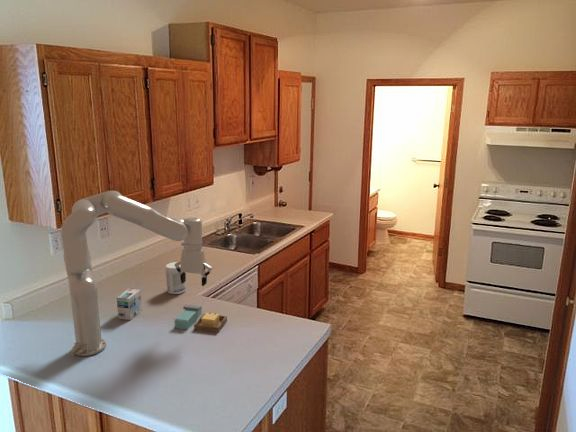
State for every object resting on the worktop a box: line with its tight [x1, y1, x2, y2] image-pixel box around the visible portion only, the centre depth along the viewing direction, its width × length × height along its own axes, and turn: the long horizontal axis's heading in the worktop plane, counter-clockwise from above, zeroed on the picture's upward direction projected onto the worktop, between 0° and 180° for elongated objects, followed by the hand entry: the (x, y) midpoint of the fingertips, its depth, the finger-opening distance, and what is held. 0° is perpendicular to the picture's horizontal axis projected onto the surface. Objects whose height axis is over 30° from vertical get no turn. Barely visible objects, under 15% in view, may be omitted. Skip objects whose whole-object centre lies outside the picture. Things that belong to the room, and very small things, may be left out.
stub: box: [201, 312, 220, 327], centre depth 207 cm, size 6×6×4 cm
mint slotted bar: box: [174, 304, 203, 330], centre depth 211 cm, size 16×8×5 cm, turn 168°
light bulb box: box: [116, 288, 143, 321], centre depth 216 cm, size 11×7×11 cm, turn 168°
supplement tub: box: [165, 261, 187, 295], centre depth 242 cm, size 10×10×15 cm
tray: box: [193, 313, 228, 334], centre depth 207 cm, size 11×11×2 cm
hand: (193, 283), depth 203 cm, fingers open, 9 cm apart
